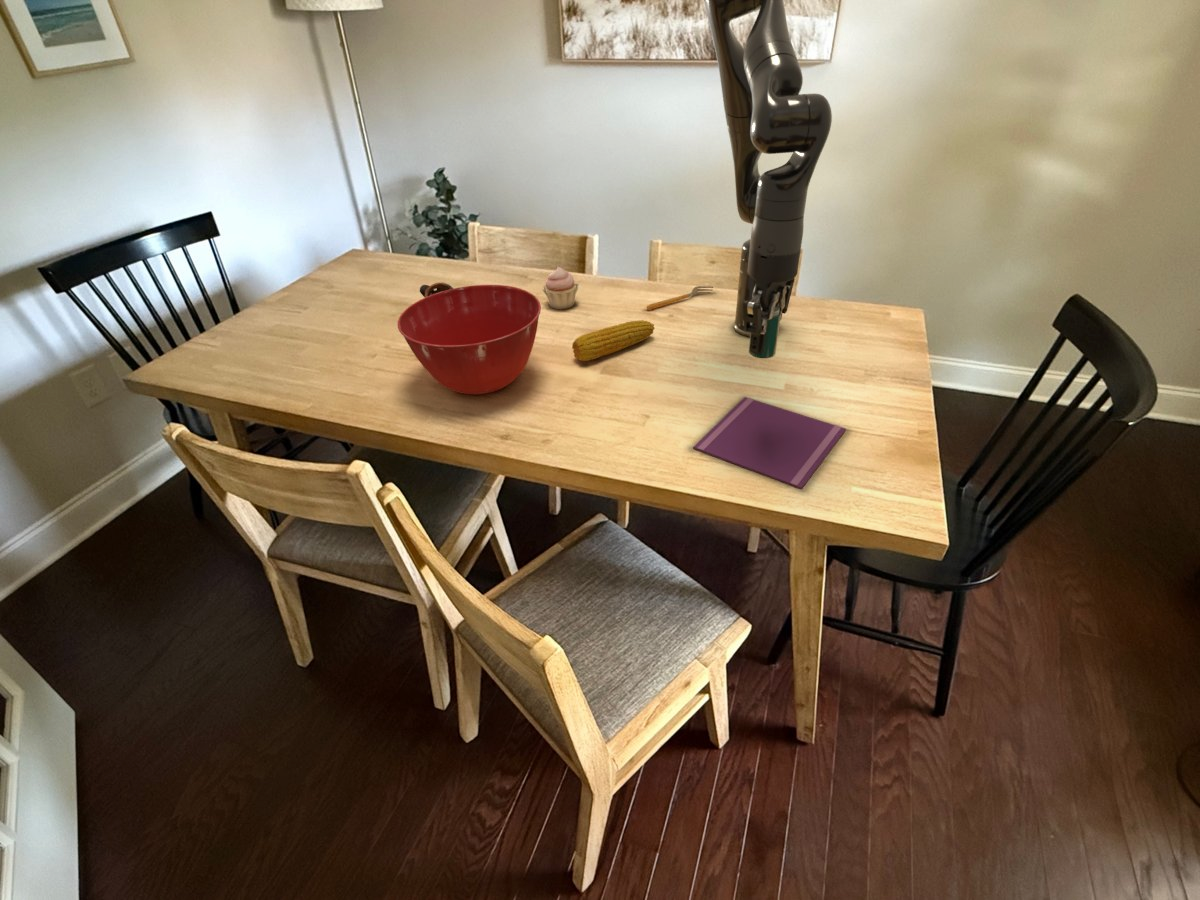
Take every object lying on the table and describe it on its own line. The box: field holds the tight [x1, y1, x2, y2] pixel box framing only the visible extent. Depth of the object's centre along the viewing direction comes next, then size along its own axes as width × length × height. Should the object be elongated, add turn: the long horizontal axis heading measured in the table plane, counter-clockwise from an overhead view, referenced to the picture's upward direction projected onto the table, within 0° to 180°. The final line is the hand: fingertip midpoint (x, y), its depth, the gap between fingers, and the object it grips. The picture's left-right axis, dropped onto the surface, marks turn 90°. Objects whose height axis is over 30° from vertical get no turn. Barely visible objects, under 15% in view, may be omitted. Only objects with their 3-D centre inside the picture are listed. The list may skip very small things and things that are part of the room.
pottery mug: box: [419, 282, 454, 298], centre depth 165 cm, size 12×10×8 cm
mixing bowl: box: [397, 284, 542, 396], centre depth 132 cm, size 28×28×15 cm
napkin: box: [692, 396, 847, 490], centre depth 114 cm, size 20×20×1 cm
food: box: [571, 319, 655, 362], centre depth 143 cm, size 21×6×6 cm, turn 126°
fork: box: [645, 285, 714, 311], centre depth 164 cm, size 2×2×20 cm
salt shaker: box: [748, 306, 781, 359], centre depth 105 cm, size 4×4×8 cm
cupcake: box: [542, 266, 579, 310], centre depth 163 cm, size 9×9×10 cm
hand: (762, 346), depth 106 cm, fingers closed on salt shaker, 4 cm apart
